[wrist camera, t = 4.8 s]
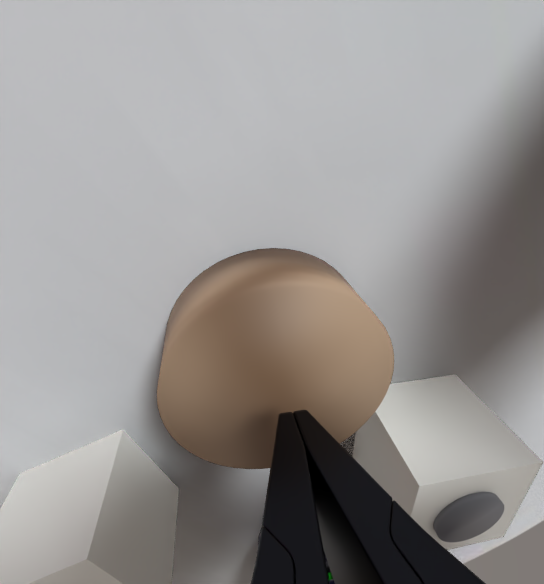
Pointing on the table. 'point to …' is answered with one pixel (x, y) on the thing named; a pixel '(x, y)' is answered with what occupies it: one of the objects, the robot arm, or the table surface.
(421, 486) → the marked cube
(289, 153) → the table surface
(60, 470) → the marked cube
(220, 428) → the beige rounded disc
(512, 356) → the table surface
